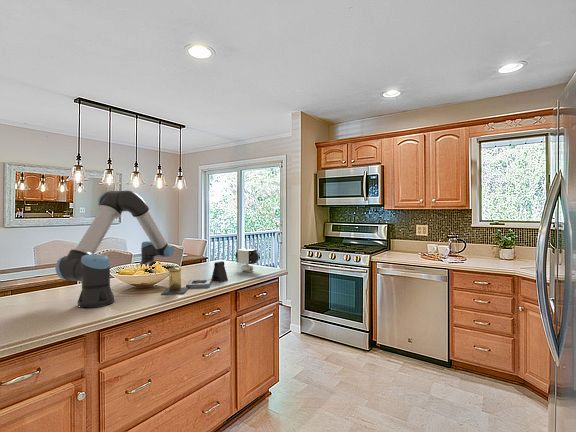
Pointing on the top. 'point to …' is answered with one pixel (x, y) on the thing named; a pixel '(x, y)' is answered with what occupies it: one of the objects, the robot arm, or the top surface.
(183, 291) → the mat
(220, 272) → the phone stand
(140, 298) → the top surface
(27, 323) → the top surface
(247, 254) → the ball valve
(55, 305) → the top surface
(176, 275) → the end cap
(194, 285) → the housing
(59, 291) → the top surface
